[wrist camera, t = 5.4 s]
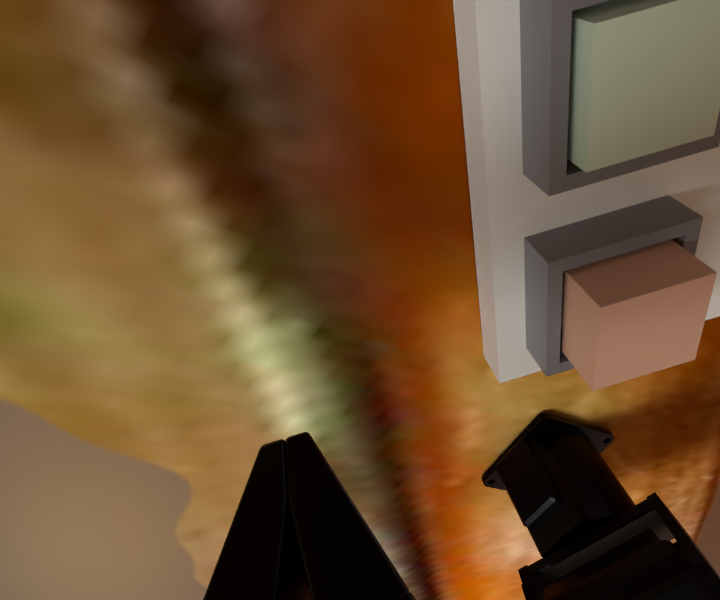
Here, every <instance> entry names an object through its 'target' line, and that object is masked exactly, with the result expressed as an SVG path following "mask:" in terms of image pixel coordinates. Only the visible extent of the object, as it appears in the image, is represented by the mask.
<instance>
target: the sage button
mask: <svg viewBox="0 0 720 600" xmlns="http://www.w3.org/2000/svg"><path fill="white" fill-rule="evenodd" d="M719 110H720V0H609V1H606V2H602V3H599V4H595V5H592V6H588V7H584V8H581V9H577V10H574V11H572V26H571V55H570V83H569V111H568V139H567V159H568V160H569V161H571V162H572V163H573V164H575V165H576V166H578V167H579V168H580V169H582V170H583V171H585V172H590V171H593V170H596V169H600V168H603V167H607V166H610V165H614V164H617V163H620V162H624V161H627V160H631V159H634V158H638V157H641V156H644V155H648V154H651V153H655V152H658V151H662V150H665V149H668V148H672V147H675V146H679V145H682V144H686V143H689V142H692V141H696V140H699V139H703V138H706V137H710V136H713V135H714V133H715V129H716V124H717V119H718V114H719Z"/></svg>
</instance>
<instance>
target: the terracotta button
mask: <svg viewBox="0 0 720 600" xmlns="http://www.w3.org/2000/svg"><path fill="white" fill-rule="evenodd" d="M716 275H717V272H716V271H714V270H713V269H712V268H710V267H709V266H708V265H706V264H705V263H703V262H702V261H701V260H699V259H698V258H696V257H695V256H694V255H692V254H691V253H690V252H688V251H687V250H685V249H684V248H683V247H681V246H680V245H678V244H677V243H676V242H674V241H673V240H672V239H670V240H667V241H664V242H660V243H657V244H654V245H650V246H647V247H643V248H640V249H637V250H633V251H630V252H627V253H623V254H620V255H617V256H613V257H610V258H607V259H603V260H600V261H597V262H593V263H590V264H587V265H583V266H580V267H577V268H573V269H570V270H567V271H564V297H563V323H562V350H561V351H562V352H563V353H564V355H565V356H566V357H567V358H568V360H569V361H570V362H571V364H572V365H573V366H574V367H575V369H576V370H577V371H578V373H579V374H580V375H581V376H582V378H583V379H584V380H585V382H586V383H587V384H588V385H589V387H590V388H591V389H592V391H594V390H598V389H601V388H604V387H607V386H611V385H614V384H617V383H620V382H624V381H627V380H630V379H633V378H636V377H640V376H643V375H646V374H649V373H653V372H656V371H659V370H662V369H666V368H669V367H672V366H675V365H679V364H682V363H685V362H688V361H692V360H695V357H696V354H697V350H698V346H699V342H700V338H701V334H702V330H703V326H704V322H705V318H706V315H707V311H708V307H709V303H710V299H711V295H712V291H713V287H714V283H715V279H716Z"/></svg>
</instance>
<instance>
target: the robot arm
mask: <svg viewBox="0 0 720 600" xmlns="http://www.w3.org/2000/svg"><path fill="white" fill-rule="evenodd" d="M613 440H614V436H613V435H612V433H611V432H610V431H608V430H605V429H601V428H598V427H594V426H590V425H587V424H583V423H580V422H576V421H573V420H569V419H566V418H562V417H559V416H555V415H551V414H548V413H544V414H541V415H539V416H538V417H536V419H535V420H534V421H533V422H532V423H531V424H530V425H529V426H528V427H527V428H526V429H525V430H524V432H523V433H522V434H521V435H520V436H519V437H518V438H517V439H516V440H515V441H514V442H513V443H512V445H511V446H510V447H509V448H508V449H507V450H506V451H505V452H504V453H503V454H502V455H501V456H500V458H499V459H498V460H497V461H496V462H495V463H494V464H493V465H492V466H491V467H490V468H489V469H488V471H487V472H486V473H485V474H484V475H483V476H482V481H483V483H484V485H485V486H486V487H491V488H497V489H502V490H506V491H507V493H508V495H509V497H510V499H511V501H512V503H513V505H514V507H515V509H516V511H517V513H518V515H519V517H520V519H521V521H522V523H523V525H524V526H526V527H527V528H528V530H529V532H530V534H531V536H532V538H533V540H534V542H535V545H536V547H537V549H538V551H539V553H540V555H541V557H543V558H542V559H540V560H538V561H536V562H535V563H533V564H531V565H529V566H527V565H526V566H524V567H522V568H520V569H519V570H518V571H519V574H520V578H521V581H522V589H523V592H524V595H525V599H526V600H720V576H719V575H718V574H717V572H716V571H715V570H714V568H713V567H712V566H711V564H710V563H709V561H708V560H707V559H706V557H705V556H704V555H703V553H702V552H701V551H700V549H699V548H698V547H697V545H696V544H695V543H694V541H693V540H692V539H691V537H690V536H689V535H688V533H687V532H686V531H685V529H684V528H683V527H682V525H681V524H680V523H679V522H678V520H677V519H676V518H675V516H674V515H673V514H672V513H671V511H670V510H669V509H668V508H667V506H666V505H665V504H664V503H663V502H662V500H661V499H660V498H659V497H658V495H657V494H656V493H653V494H651V495H649V496H648V497H646V498H647V499H646V500H644V501H643V502H641V503H639V504H637V505H635V504H634V502H633V501H632V499H631V498H630V496H629V495H628V494H627V492H626V491H625V489H624V488H623V486H622V485H621V484H620V482H619V481H618V479H617V478H616V476H615V475H614V474H613V472H612V471H611V469H610V468H609V466H608V465H607V464H606V462H605V461H604V459H603V458H602V456H601V455H600V453H601V452H602V451H603V450H604V449H605V448H606V447H608V446H609V445H610V444H611V443H612V442H613ZM674 538H675V539H676V540H677V542H675V543H673V544H672V542H670V540H672V539H674ZM203 600H416V599H415V598H414V596H413V595H412V593H409V590H408V587H407V586H406V584H405V583H404V581H403V580H402V578H401V576H400V575H399V573H398V572H397V570H396V569H395V567H394V565H393V564H392V562H391V561H390V559H389V558H388V556H387V554H386V553H385V551H384V550H383V548H382V547H381V545H380V544H379V542H378V540H377V539H376V537H375V536H374V534H373V533H372V531H371V529H370V528H369V526H368V525H367V523H366V522H365V520H364V518H363V517H362V515H361V514H360V512H359V511H358V509H357V508H356V506H355V504H354V503H353V501H352V500H351V498H350V497H349V495H348V493H347V492H346V490H345V489H344V487H343V486H342V484H341V482H340V481H339V479H338V478H337V476H336V475H335V473H334V471H333V470H332V468H331V467H330V465H329V464H328V462H327V461H326V459H325V457H324V456H323V454H322V453H321V451H320V450H319V448H318V446H317V445H316V443H315V442H314V440H313V439H312V437H311V436H310V434H309V433H307V432H304V433H300V434H297V435H294V436H290V437H288V438H287V439H286V441H285V440H277V441H274V442H271V443H267V444H264V445H263V446H262V447H261V448H260V450H259V452H258V455H257V458H256V460H255V463H254V466H253V468H252V471H251V474H250V476H249V479H248V482H247V484H246V487H245V490H244V492H243V495H242V498H241V500H240V503H239V506H238V508H237V511H236V514H235V516H234V519H233V522H232V524H231V527H230V530H229V532H228V535H227V538H226V540H225V543H224V546H223V548H222V551H221V554H220V556H219V559H218V562H217V564H216V567H215V570H214V572H213V575H212V578H211V580H210V583H209V586H208V588H207V591H206V594H205V596H204V599H203Z"/></svg>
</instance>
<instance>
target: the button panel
mask: <svg viewBox="0 0 720 600" xmlns="http://www.w3.org/2000/svg"><path fill="white" fill-rule="evenodd" d="M606 1H609V0H453V7H454V18H455V30H456V41H457V53H458V64H459V76H460V87H461V99H462V110H463V122H464V133H465V144H466V156H467V167H468V179H469V190H470V202H471V213H472V225H473V236H474V248H475V259H476V271H477V282H478V293H479V305H480V316H481V328H482V339H483V351H484V357H485V359H486V361H487V363H488V364H489V366H490V368H491V369H492V371H493V373H494V374H495V376H496V378H497V380H498V381H499V383H502V382H506V381H509V380H512V379H515V378H519V377H522V376H525V375H528V374H532V373H535V372H538V371H543V373H544V374H545V375H546V377H547V376H550V375H554V374H557V373H560V372H563V371H567V370H570V369H573V368H575V367H574V366H573V365H572V364H571V362H570V361H569V360H568V358H567V357H566V356H565V355H564V353H563V352H562V351H561V350H562V323H563V297H564V271H567V270H570V269H573V268H577V267H580V266H583V265H587V264H590V263H593V262H597V261H600V260H603V259H607V258H610V257H613V256H617V255H620V254H623V253H627V252H630V251H633V250H637V249H640V248H643V247H647V246H650V245H654V244H657V243H660V242H664V241H667V240H670V239H672V240H673V241H674V242H676V243H677V244H678V245H680V246H681V247H683V248H684V249H685V250H687V251H688V252H690V253H691V254H692V255H694V256H695V257H696V258H698V259H699V260H701V261H702V262H703V263H705V264H706V265H708V266H709V267H710V268H712V269H713V270H714V271H716V272H717V275H716V279H715V283H714V287H713V291H712V295H711V299H710V303H709V307H708V311H707V315H706V318H705V320H708V319H711V318H715V317H718V316H720V110H719V114H718V119H717V124H716V129H715V133H714V135H713V136H710V137H706V138H703V139H699V140H696V141H692V142H689V143H686V144H682V145H679V146H675V147H672V148H668V149H665V150H662V151H658V152H655V153H651V154H648V155H644V156H641V157H638V158H634V159H631V160H627V161H624V162H620V163H617V164H614V165H610V166H607V167H603V168H600V169H596V170H593V171H590V172H585V171H583V170H582V169H580V168H579V167H578V166H576V165H575V164H573V163H572V162H571V161H569V160H568V159H567V139H568V111H569V83H570V55H571V26H572V11H574V10H577V9H581V8H584V7H588V6H592V5H595V4H599V3H602V2H606Z"/></svg>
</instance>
